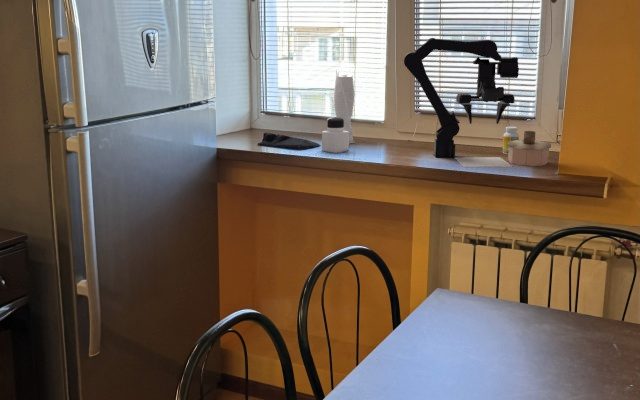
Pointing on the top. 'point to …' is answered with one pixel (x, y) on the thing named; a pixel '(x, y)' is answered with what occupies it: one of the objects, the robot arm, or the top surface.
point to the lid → (529, 142)
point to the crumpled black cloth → (286, 142)
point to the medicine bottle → (335, 136)
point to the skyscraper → (344, 100)
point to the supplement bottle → (509, 138)
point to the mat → (482, 162)
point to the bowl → (528, 157)
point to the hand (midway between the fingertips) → (483, 123)
